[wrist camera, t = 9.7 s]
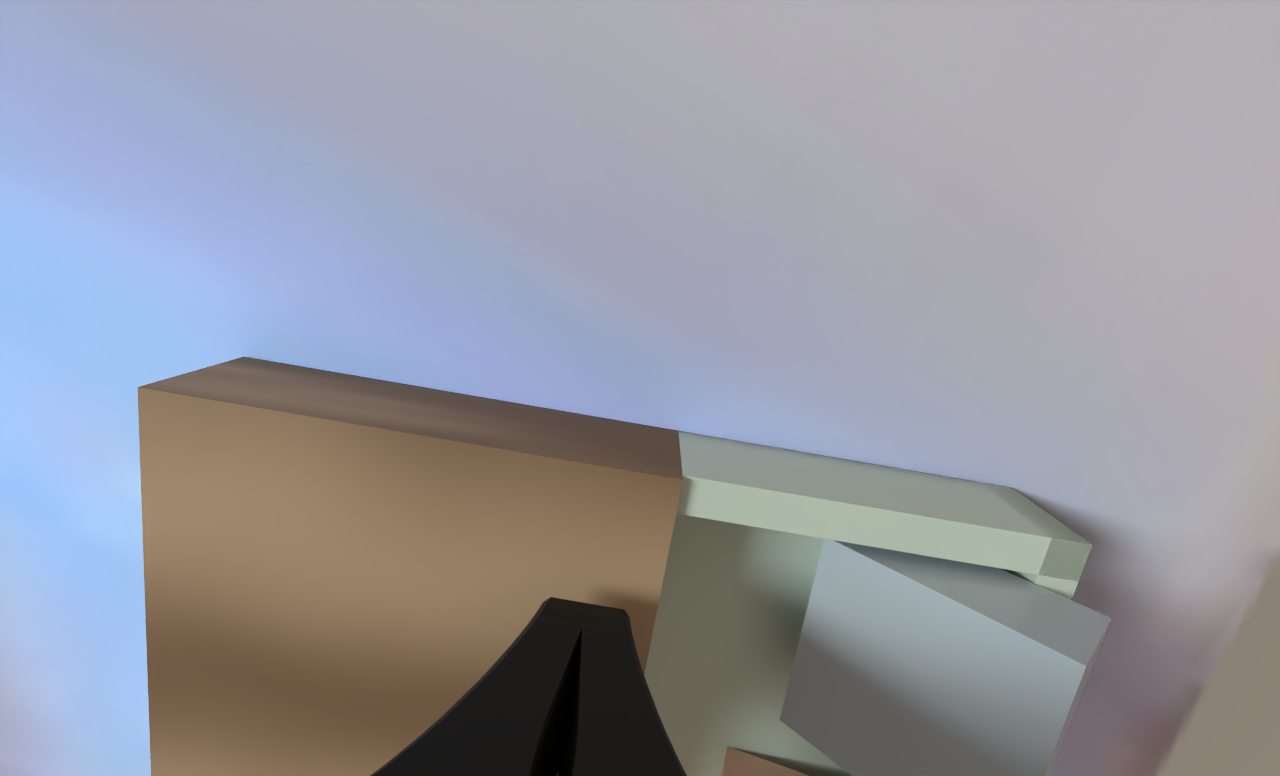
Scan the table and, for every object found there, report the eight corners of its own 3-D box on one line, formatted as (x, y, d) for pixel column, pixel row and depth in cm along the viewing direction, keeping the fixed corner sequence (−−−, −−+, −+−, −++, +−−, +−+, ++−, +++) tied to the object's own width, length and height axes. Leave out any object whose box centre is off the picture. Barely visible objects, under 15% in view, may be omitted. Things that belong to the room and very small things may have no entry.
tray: (864, 921, 15) (900, 1042, 13) (592, 876, 15) (580, 990, 13) (1012, 487, 13) (1092, 545, 10) (678, 430, 13) (682, 475, 10)
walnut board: (592, 876, 15) (579, 1001, 13) (239, 819, 15) (157, 933, 13) (678, 430, 13) (683, 480, 10) (243, 357, 12) (138, 387, 10)
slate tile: (779, 719, 12) (830, 679, 13) (1000, 889, 9) (1035, 816, 11) (825, 536, 11) (874, 513, 12) (1086, 666, 8) (1111, 618, 10)
